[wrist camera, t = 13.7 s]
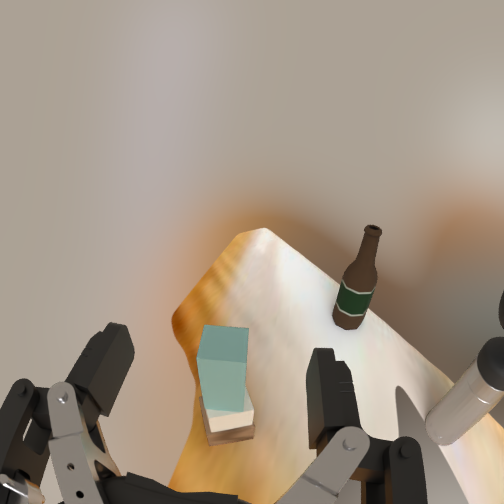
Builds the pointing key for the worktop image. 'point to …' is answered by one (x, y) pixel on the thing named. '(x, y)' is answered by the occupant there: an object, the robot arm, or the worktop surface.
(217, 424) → the cream block
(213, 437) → the walnut block
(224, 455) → the worktop surface
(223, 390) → the teal block
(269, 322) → the worktop surface
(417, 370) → the worktop surface
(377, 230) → the beer bottle
